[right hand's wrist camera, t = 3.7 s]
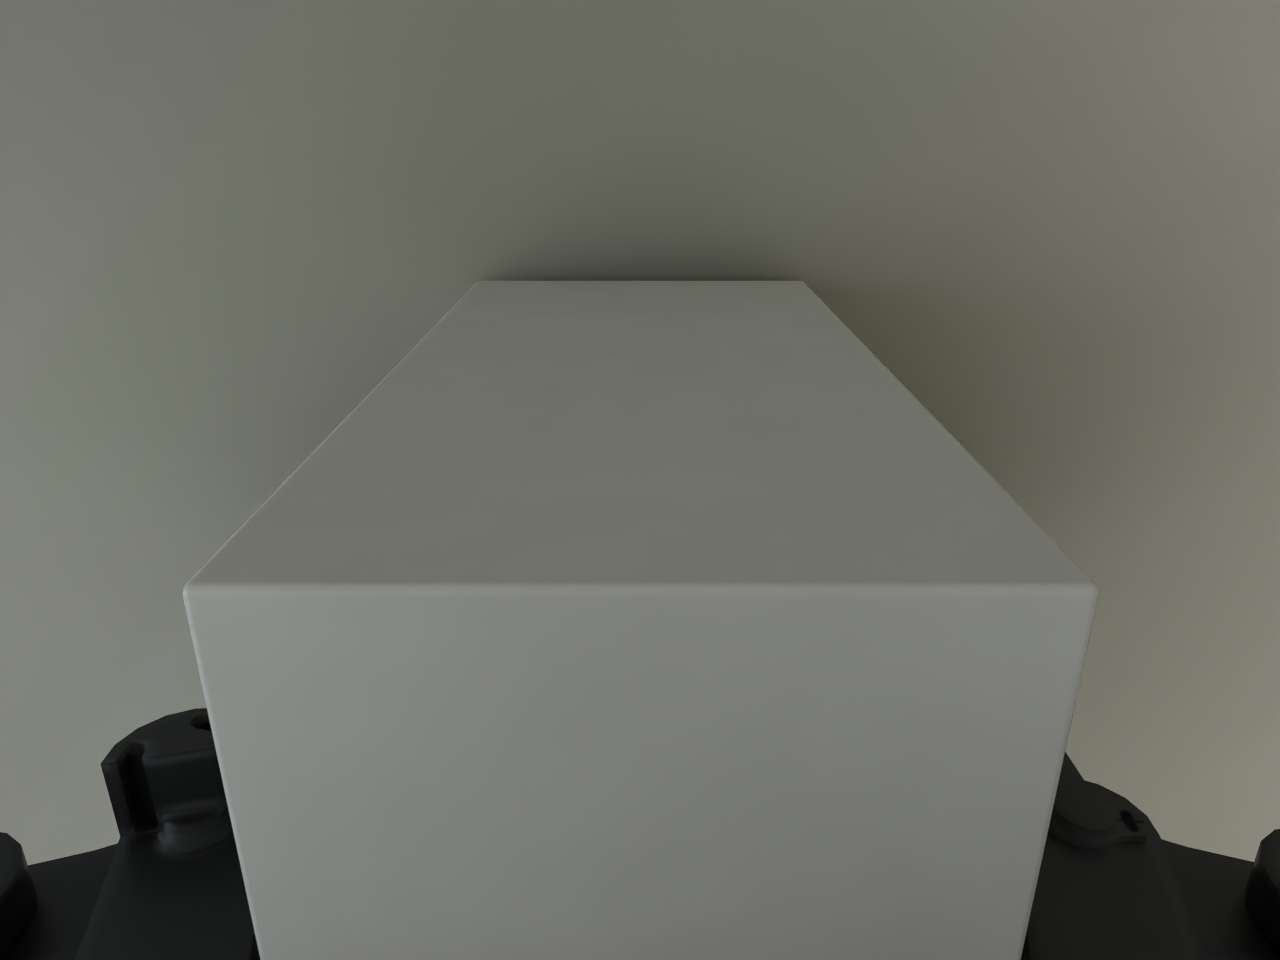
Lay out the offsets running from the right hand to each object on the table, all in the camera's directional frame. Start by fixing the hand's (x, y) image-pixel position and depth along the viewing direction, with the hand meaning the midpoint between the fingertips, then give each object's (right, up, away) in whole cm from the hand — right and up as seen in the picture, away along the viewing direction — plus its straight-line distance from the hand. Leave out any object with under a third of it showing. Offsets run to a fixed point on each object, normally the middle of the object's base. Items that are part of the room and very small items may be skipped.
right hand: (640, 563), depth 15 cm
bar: (0, -7, +3) cm, 8 cm away
